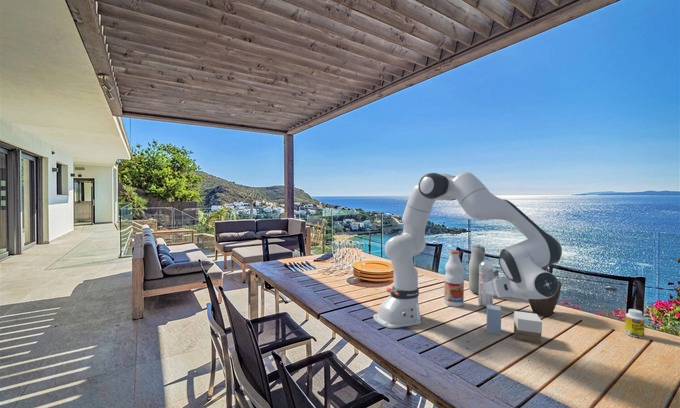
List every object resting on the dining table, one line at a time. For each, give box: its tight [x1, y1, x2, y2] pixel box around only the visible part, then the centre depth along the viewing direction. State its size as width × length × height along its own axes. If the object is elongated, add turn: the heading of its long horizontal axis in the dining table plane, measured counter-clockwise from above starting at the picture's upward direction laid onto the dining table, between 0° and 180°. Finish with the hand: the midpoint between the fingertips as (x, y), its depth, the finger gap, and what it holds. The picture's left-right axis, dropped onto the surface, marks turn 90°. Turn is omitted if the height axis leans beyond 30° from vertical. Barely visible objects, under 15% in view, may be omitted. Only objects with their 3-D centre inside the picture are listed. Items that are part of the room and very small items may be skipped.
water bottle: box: [477, 256, 495, 308], centre depth 151 cm, size 7×7×25 cm
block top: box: [513, 310, 543, 334], centre depth 117 cm, size 8×8×4 cm
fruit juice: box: [443, 249, 465, 308], centre depth 153 cm, size 9×9×28 cm
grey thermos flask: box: [468, 244, 486, 295], centre depth 169 cm, size 10×10×28 cm
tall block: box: [486, 304, 502, 335], centre depth 123 cm, size 5×5×10 cm
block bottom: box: [513, 322, 542, 345], centre depth 117 cm, size 8×8×4 cm
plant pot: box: [527, 280, 563, 317], centre depth 141 cm, size 15×15×16 cm
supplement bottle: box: [624, 308, 646, 339], centre depth 119 cm, size 6×6×10 cm
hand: (505, 285), depth 115 cm, fingers open, 8 cm apart
